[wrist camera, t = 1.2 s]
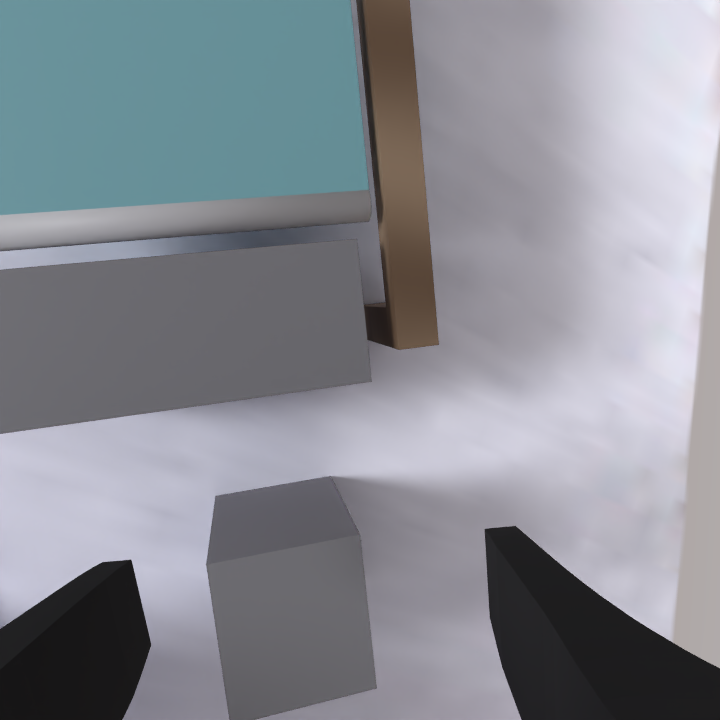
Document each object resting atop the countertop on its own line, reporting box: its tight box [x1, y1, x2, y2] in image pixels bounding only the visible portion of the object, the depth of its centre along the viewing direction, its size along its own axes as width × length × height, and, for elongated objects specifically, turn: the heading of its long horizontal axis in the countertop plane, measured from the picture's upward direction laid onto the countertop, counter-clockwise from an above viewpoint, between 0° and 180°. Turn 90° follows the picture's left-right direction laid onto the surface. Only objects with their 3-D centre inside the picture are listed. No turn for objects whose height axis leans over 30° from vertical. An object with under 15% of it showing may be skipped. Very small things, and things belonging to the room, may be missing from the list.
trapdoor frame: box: [356, 0, 439, 350], centre depth 16 cm, size 15×14×6 cm
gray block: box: [206, 476, 377, 720], centre depth 19 cm, size 5×4×6 cm
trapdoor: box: [0, 0, 372, 434], centre depth 15 cm, size 15×11×4 cm
